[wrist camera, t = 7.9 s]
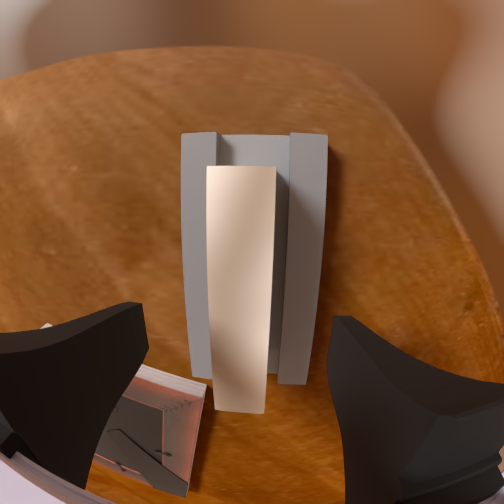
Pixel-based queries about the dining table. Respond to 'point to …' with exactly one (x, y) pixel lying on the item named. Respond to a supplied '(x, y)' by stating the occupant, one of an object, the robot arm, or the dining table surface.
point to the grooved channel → (285, 240)
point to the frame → (240, 282)
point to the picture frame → (154, 430)
